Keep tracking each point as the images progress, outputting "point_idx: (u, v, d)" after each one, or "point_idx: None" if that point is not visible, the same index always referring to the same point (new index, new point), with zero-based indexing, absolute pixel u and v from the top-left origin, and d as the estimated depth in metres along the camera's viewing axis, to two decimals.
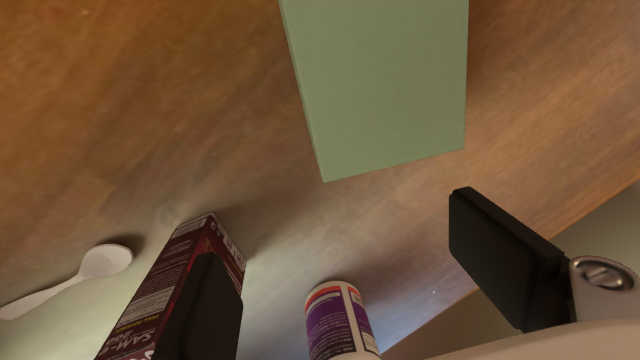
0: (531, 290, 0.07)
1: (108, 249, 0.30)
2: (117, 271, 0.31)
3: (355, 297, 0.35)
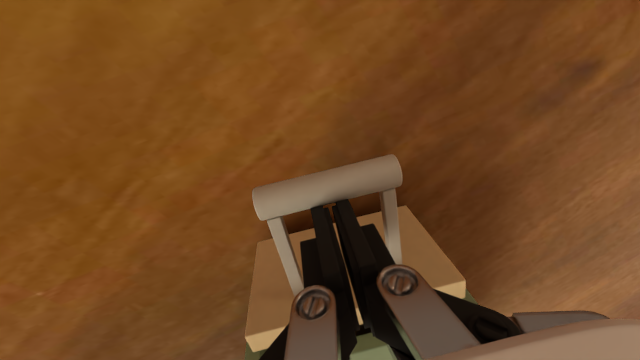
0: (361, 294, 0.08)
1: None
2: None
3: None
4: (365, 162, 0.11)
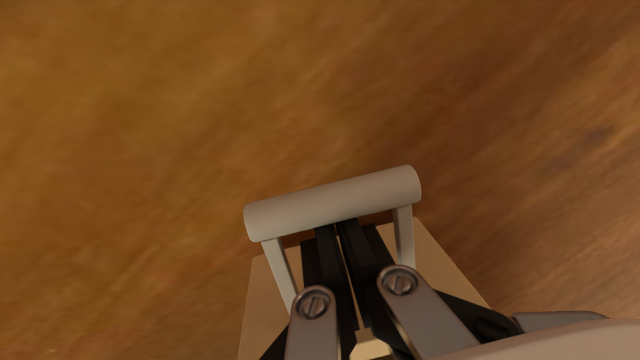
0: (361, 294, 0.08)
1: None
2: None
3: None
4: (377, 174, 0.09)
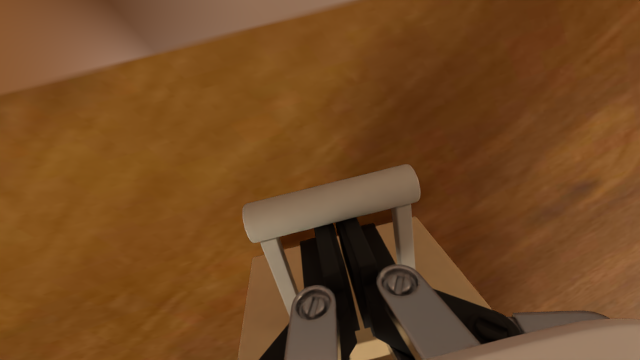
0: (361, 294, 0.08)
1: None
2: None
3: None
4: (376, 174, 0.09)
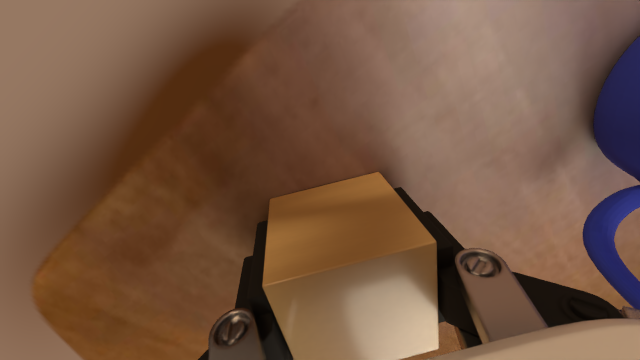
0: None
1: None
2: None
3: None
4: None
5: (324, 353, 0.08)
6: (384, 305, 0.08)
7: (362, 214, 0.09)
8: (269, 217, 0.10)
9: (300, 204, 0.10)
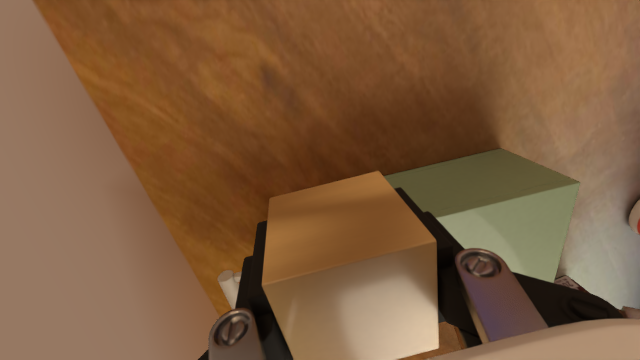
0: None
1: None
2: None
3: None
4: None
5: (324, 352, 0.08)
6: (383, 304, 0.08)
7: (362, 213, 0.09)
8: (269, 216, 0.10)
9: (300, 203, 0.10)
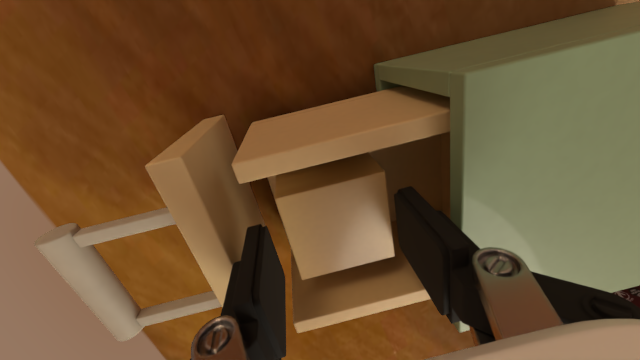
0: (447, 279, 0.08)
1: None
2: None
3: None
4: None
5: (315, 254, 0.12)
6: (353, 217, 0.12)
7: (341, 162, 0.13)
8: None
9: None
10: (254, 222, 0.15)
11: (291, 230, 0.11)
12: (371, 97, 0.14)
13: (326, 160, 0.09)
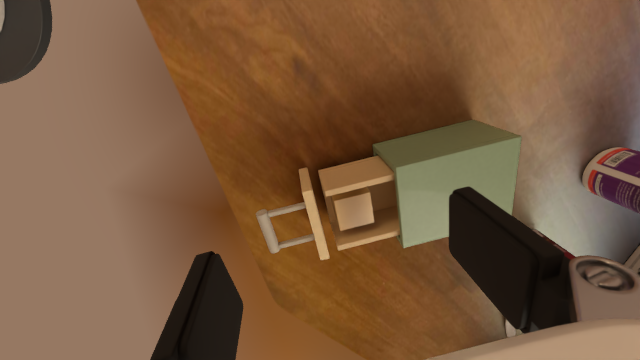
0: (531, 290, 0.07)
1: None
2: None
3: (612, 161, 0.40)
4: None
5: (345, 220, 0.34)
6: (359, 207, 0.34)
7: None
8: None
9: None
10: None
11: (338, 212, 0.33)
12: (365, 162, 0.36)
13: (351, 189, 0.31)
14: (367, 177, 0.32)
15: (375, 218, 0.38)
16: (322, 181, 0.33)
